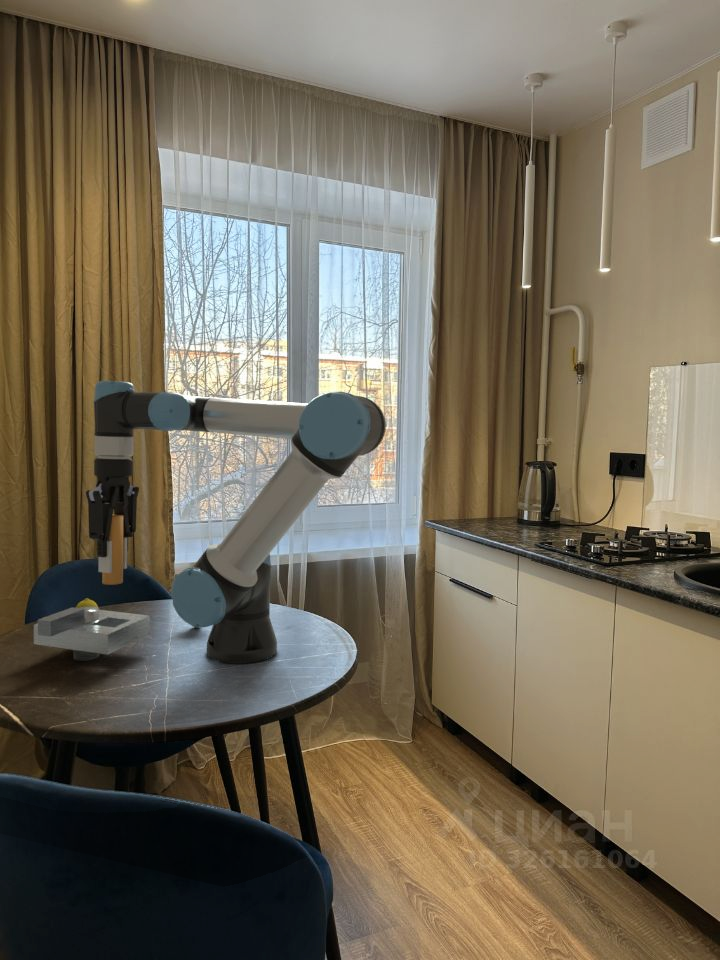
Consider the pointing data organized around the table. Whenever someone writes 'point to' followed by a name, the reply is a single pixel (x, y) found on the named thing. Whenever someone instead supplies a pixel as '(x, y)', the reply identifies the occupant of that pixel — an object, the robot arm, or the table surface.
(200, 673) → the table surface
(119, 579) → the pin
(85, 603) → the lemon
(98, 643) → the gray rectangular tray
